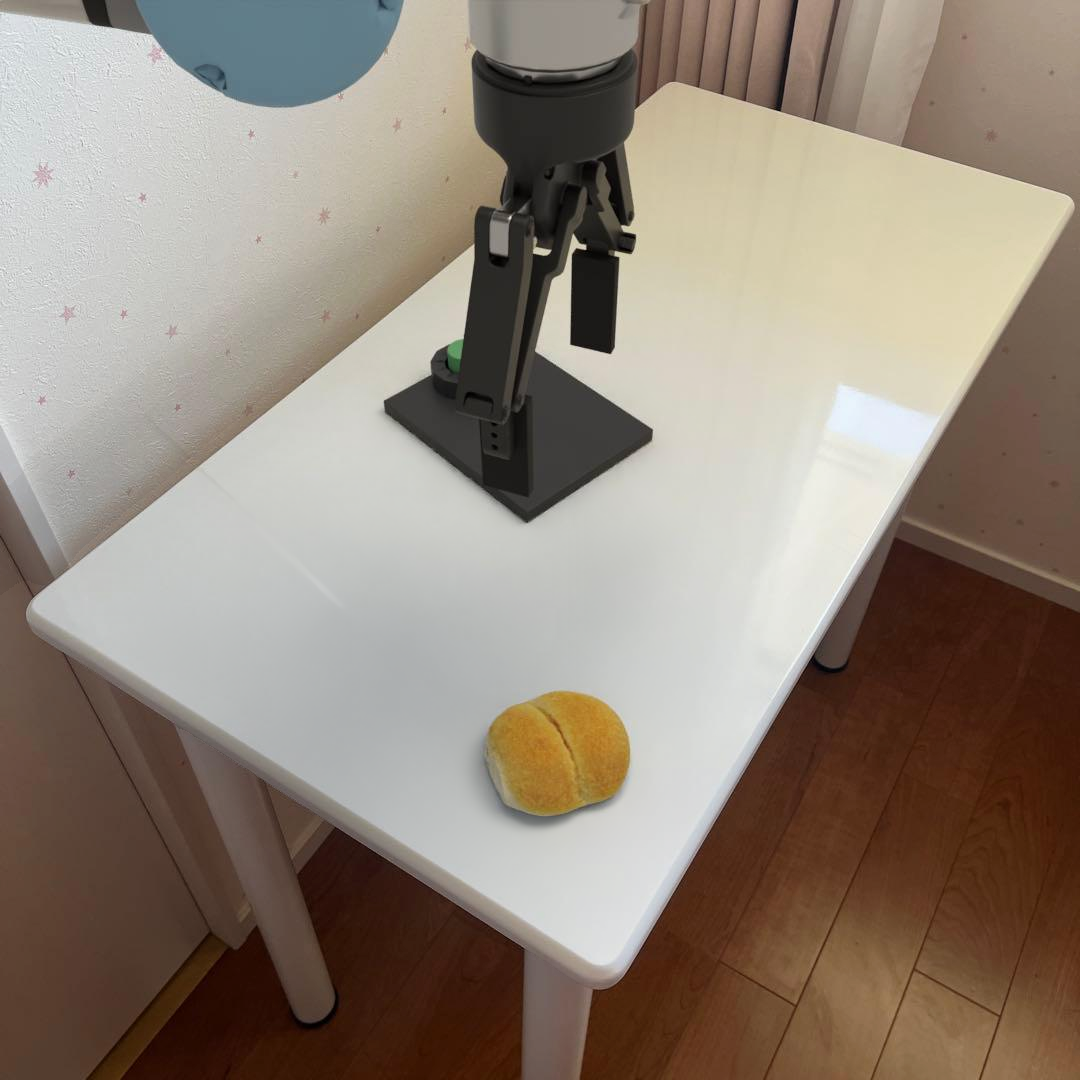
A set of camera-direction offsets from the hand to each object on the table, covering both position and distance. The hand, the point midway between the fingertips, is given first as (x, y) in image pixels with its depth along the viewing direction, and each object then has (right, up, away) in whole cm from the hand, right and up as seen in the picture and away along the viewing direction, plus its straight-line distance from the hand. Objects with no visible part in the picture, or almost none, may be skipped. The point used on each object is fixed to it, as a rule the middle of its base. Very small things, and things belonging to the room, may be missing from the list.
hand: (553, 412), depth 65 cm
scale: (-3, +2, +27) cm, 28 cm away
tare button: (-7, +7, +29) cm, 31 cm away
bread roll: (0, -22, +5) cm, 22 cm away
